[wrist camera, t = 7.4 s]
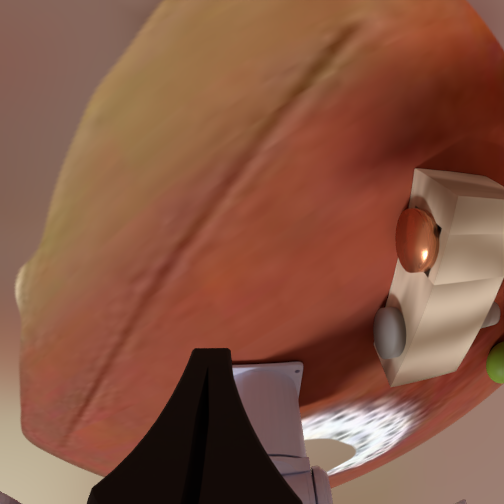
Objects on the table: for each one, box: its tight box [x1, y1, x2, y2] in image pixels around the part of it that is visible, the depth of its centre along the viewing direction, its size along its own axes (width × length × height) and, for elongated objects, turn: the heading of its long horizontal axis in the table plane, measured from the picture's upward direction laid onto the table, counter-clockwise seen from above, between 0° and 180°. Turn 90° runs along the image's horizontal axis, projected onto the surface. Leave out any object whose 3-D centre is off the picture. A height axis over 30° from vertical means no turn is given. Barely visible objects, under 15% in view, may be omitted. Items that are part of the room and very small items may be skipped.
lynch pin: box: [396, 208, 442, 273], centre depth 17 cm, size 4×13×4 cm, turn 92°
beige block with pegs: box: [373, 168, 504, 387], centre depth 20 cm, size 16×12×5 cm
